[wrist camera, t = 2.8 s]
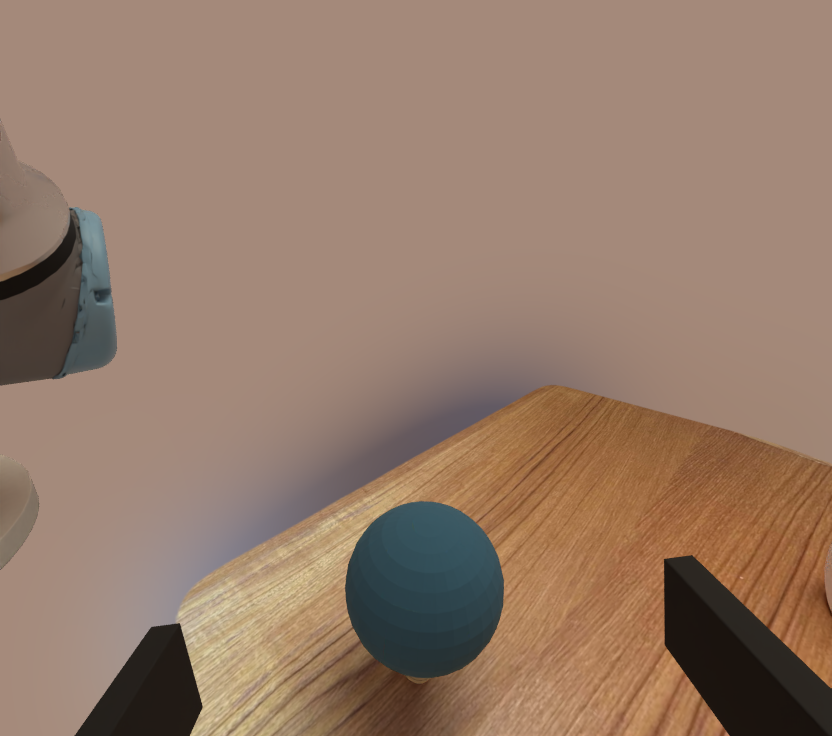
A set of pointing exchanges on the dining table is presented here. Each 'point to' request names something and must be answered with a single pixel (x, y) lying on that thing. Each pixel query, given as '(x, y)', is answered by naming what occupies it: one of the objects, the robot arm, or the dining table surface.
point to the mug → (828, 577)
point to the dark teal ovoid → (424, 590)
